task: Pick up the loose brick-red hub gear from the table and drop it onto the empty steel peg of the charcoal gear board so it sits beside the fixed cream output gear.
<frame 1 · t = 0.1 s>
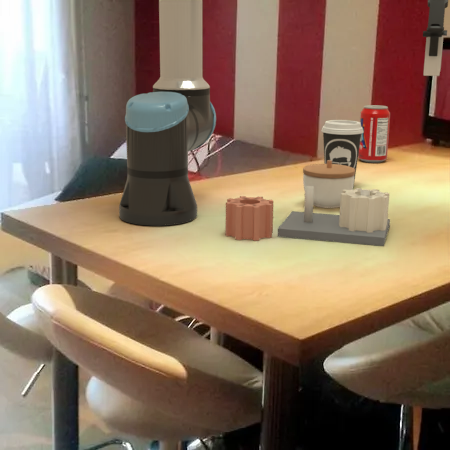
hand: (432, 73, 136), 28 cm above the table, fingers open, 13 cm apart
gear board: (334, 231, 135), on the table
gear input: (249, 234, 133), on the table
coffee cup: (339, 187, 171), on the table
lidded jar: (327, 205, 155), on the table
soda can: (372, 161, 204), on the table
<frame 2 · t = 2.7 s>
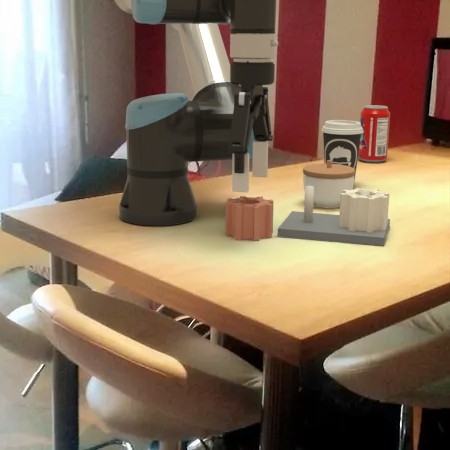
hand: (250, 184, 130), 9 cm above the table, fingers open, 13 cm apart
nothing on the table moved.
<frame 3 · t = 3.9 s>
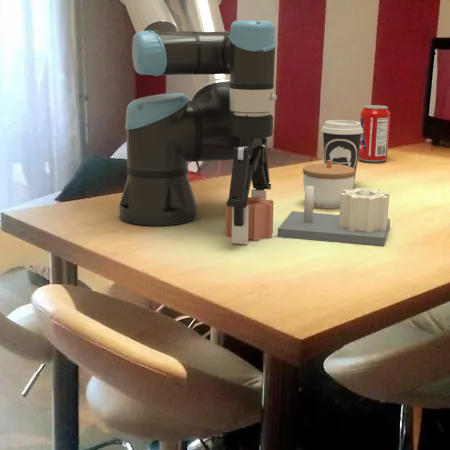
hand: (249, 233, 133), 0 cm above the table, fingers open, 12 cm apart
nothing on the table moved.
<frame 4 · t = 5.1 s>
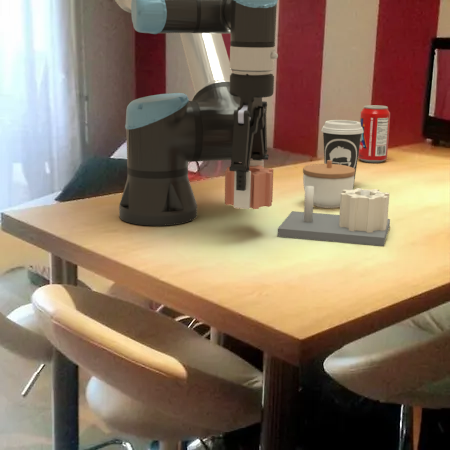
hand: (248, 201, 132), 6 cm above the table, fingers closed on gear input, 9 cm apart
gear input: (248, 202, 132), point 6 cm above the table, touching gripper
everything else where it was.
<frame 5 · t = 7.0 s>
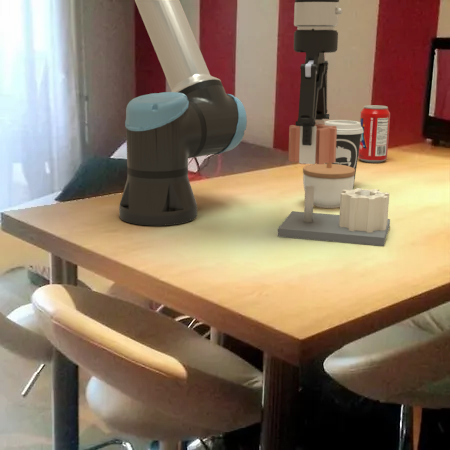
hand: (311, 158, 133), 13 cm above the table, fingers closed on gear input, 9 cm apart
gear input: (311, 160, 133), point 13 cm above the table, touching gripper
everything else where it was.
when the fingers open (3 cm above the table, at t = 9.1 s): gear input drops 2 cm, resting on gear board.
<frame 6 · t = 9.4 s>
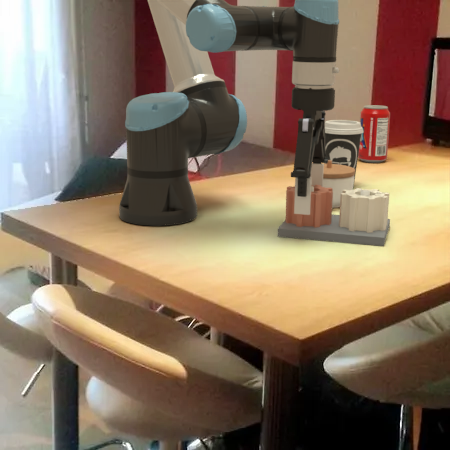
hand: (308, 205, 135), 5 cm above the table, fingers open, 12 cm apart
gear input: (308, 221, 136), point 1 cm above the table, touching gear board
everything else where it was.
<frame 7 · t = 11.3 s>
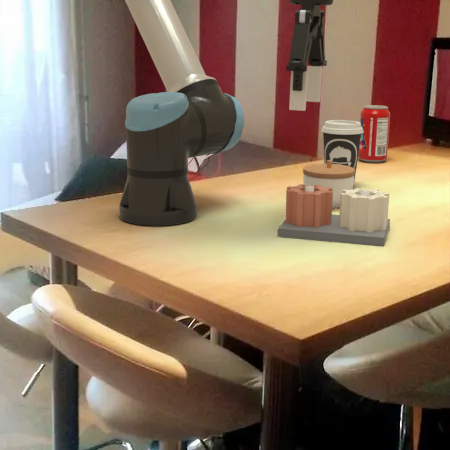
hand: (305, 105, 133), 22 cm above the table, fingers open, 13 cm apart
nothing on the table moved.
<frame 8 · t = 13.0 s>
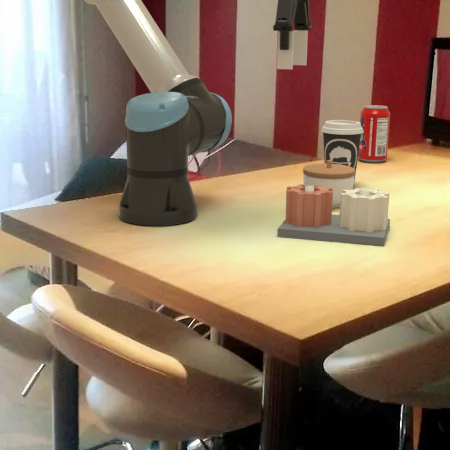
hand: (292, 67, 138), 29 cm above the table, fingers open, 13 cm apart
nothing on the table moved.
at the end: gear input 0.1 cm from the target spot on the gear board, point 1.5 cm above the gear board's base; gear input tilted 0°; the gripper is holding nothing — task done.
